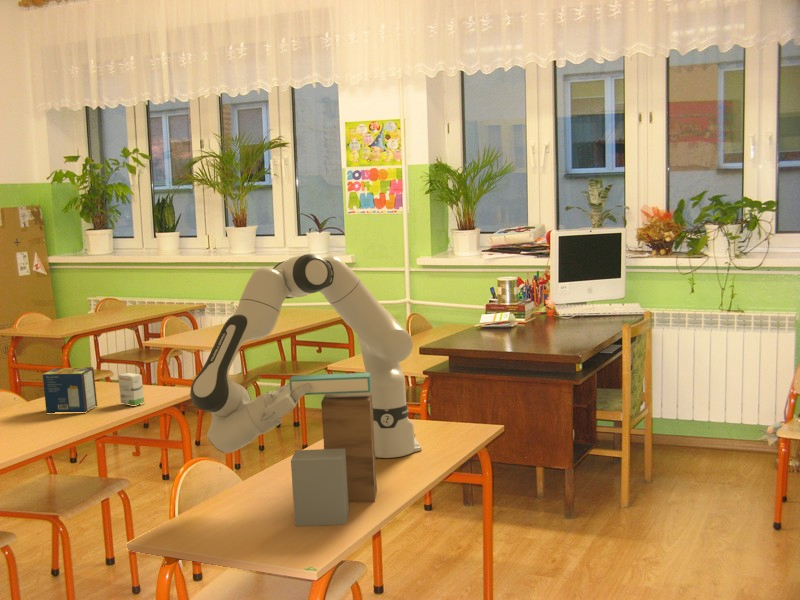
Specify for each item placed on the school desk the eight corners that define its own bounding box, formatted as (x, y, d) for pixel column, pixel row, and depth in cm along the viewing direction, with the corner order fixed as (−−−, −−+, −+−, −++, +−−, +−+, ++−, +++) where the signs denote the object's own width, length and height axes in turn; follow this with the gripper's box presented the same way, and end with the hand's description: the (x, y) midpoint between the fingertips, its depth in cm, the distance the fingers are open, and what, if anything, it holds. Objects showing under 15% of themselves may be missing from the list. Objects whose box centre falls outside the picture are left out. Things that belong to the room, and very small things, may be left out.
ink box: (145, 404, 337) (142, 374, 335) (134, 407, 333) (131, 376, 331) (131, 402, 342) (128, 372, 341) (120, 404, 338) (117, 374, 337)
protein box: (59, 407, 338) (55, 367, 336) (97, 406, 337) (94, 366, 335) (45, 415, 328) (41, 373, 326) (85, 414, 326) (81, 372, 324)
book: (293, 391, 226) (292, 375, 226) (371, 387, 226) (370, 372, 225) (290, 395, 222) (289, 379, 221) (370, 392, 221) (369, 376, 220)
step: (299, 513, 217) (295, 450, 215) (348, 512, 216) (345, 448, 214) (295, 526, 209) (290, 460, 207) (345, 524, 208) (342, 458, 206)
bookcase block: (331, 490, 232) (325, 393, 228) (377, 489, 231) (371, 391, 228) (327, 503, 223) (321, 402, 220) (374, 501, 222) (369, 400, 219)
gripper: (251, 412, 214) (299, 382, 213) (266, 391, 235) (310, 364, 233) (266, 433, 215) (313, 403, 214) (280, 411, 235) (323, 384, 234)
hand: (311, 382), depth 224 cm, fingers closed on book, 5 cm apart
